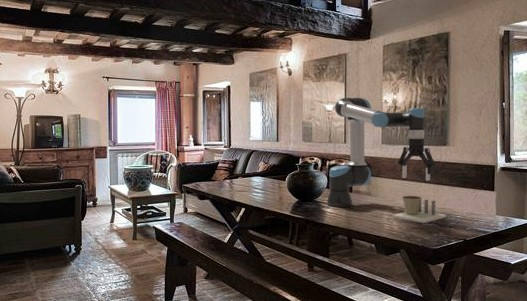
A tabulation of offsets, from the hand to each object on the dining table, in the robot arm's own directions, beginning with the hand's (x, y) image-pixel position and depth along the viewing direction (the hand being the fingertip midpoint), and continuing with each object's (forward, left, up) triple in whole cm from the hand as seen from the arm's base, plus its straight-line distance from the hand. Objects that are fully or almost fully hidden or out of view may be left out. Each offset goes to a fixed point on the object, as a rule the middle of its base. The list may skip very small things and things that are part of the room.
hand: (415, 179), depth 224 cm
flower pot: (-2, -1, -18) cm, 18 cm away
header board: (+2, -1, -20) cm, 20 cm away
